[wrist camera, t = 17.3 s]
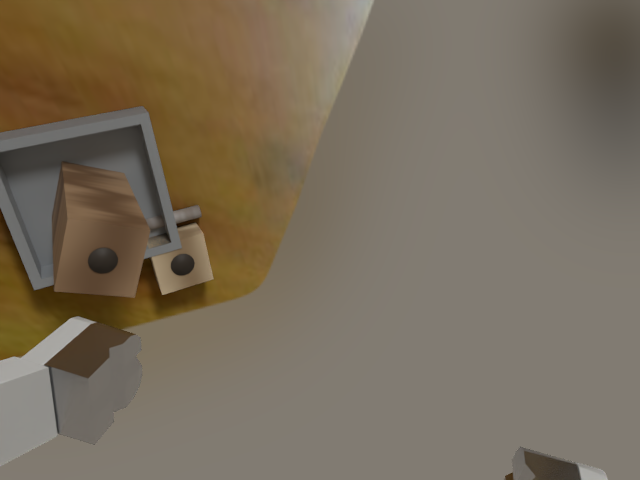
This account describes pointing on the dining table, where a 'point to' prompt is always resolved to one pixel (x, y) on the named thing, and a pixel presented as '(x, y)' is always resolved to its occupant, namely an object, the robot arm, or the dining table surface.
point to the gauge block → (181, 254)
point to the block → (97, 233)
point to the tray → (84, 149)
